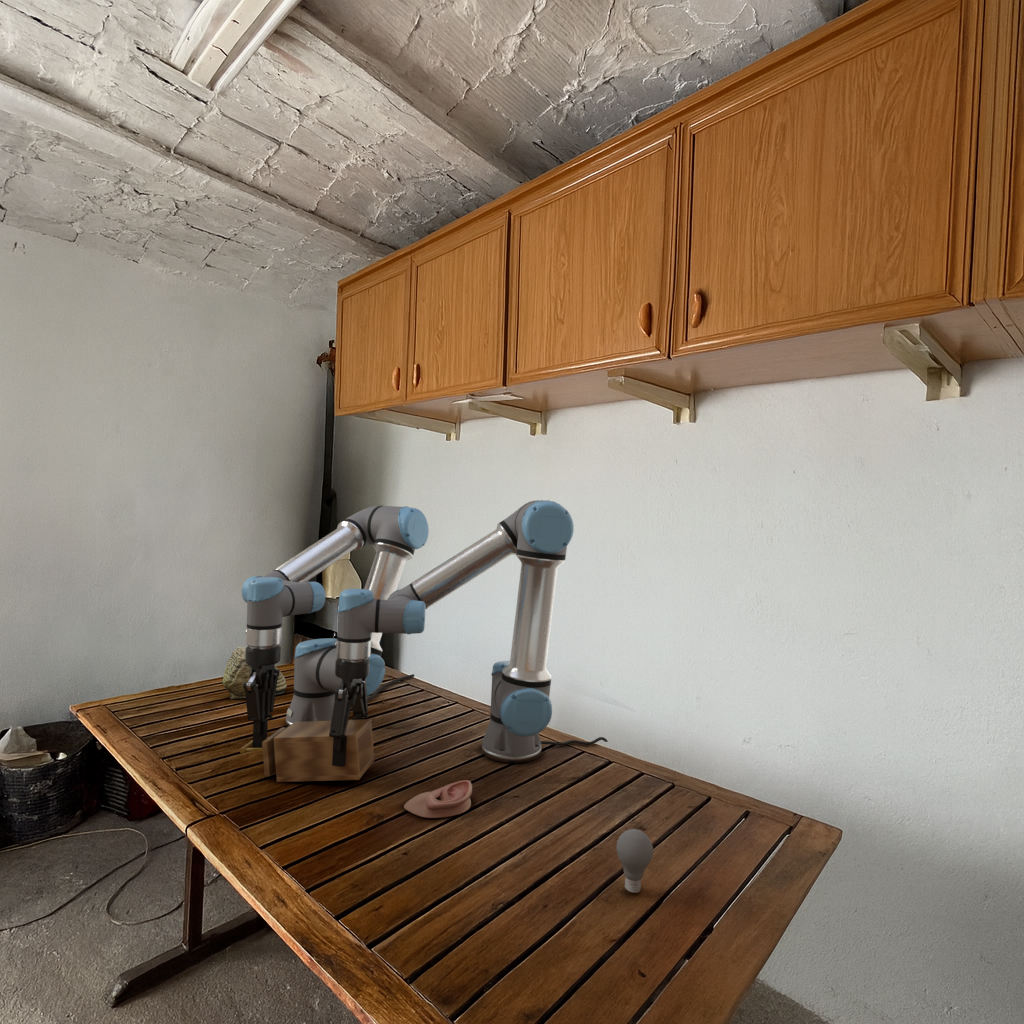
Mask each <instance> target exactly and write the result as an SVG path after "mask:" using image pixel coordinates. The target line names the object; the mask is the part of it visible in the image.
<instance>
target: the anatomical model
mask: <svg viewBox="0 0 1024 1024" xmlns="http://www.w3.org/2000/svg"><path fill="white" fill-rule="evenodd" d="M472 793H473V785H472V782H471V781H470V780H468V779H466V780H464V779H463V780H458V781H455V782H453V783H449V784H446V785H444V786H441V787H440V788H437V789H434V790H432V791H425V792H422V793H419V794H416V795H415V796H414V797H412V798H410V799H409V800H407V801H406V802H405V804H403V808H404V810H406V811H408V812H409V813H411V814H413V815H415V816H418V817H421V818H424V819H437V818H447V817H452V816H457V815H460V814H462V813H465V812H467V811H468V810H469V809H470V808H471V806H472V801H471V798H470V797H471V796H472Z"/></svg>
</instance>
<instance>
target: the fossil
mask: <svg viewBox="0 0 1024 1024" xmlns="http://www.w3.org/2000/svg"><path fill="white" fill-rule="evenodd" d="M246 648H247V646H246V647H245V646H238V647H237V648H236V649H235V650H233V651H232V653H231V656H230V657H229V659H228V660H227V663H226V666H225V668H224V671H223V675H222V676H223V677H222V685H223V687H224V688H225V690H226V691H228V693H229V698H230V699H246V695H245V690H244V688H243V684H244V682H248V681H249V680H250V671H251V666H250V665H249V664H247V663H246V662H245V653H246ZM275 669H279V668H278V667H277V665H276V664H275ZM287 687H288V686H287V680H286V678H285V676H284V674H283V673H282V672H281V671H280V673H279V677H278V680H277V688H276V695H281V694H284V693H285V691H286V689H287Z"/></svg>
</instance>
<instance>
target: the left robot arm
mask: <svg viewBox="0 0 1024 1024" xmlns="http://www.w3.org/2000/svg"><path fill="white" fill-rule="evenodd" d="M429 530H430V529H429V523H428V520H427V517H426V515H425V514H424V513H423V511H421V510H420V509H418V508H416V507H410V506H392V505H381V504H380V505H379V504H377V505H372V506H368V507H366V508H363V509H361V510H359V511H358V512H355V513H354V514H351V515H350V516H348V517H346V518H344V520H342V521H340V522H339V523H338V524H337V527H336V529H334V530H333V531H331V532H330V533H328V534H327V535H325V536H324V537H322V538H321V539H319V540H318V541H316V542H314V543H313V544H311V545H309V546H308V547H307V548H305V549H304V550H302V551H300V552H299V553H298V554H295V556H293V557H291V558H290V559H288V560H287V561H285V562H284V563H281V565H279V566H278V567H276V568H274V569H272V570H271V571H270V572H268V573H267V574H265V575H263V576H262V575H254V576H250V577H248V578H247V579H246V580H244V583H243V584H242V586H241V590H240V591H241V592H240V593H241V597H242V599H243V601H244V603H246V629H245V631H244V632H245V634H246V635H245V637H246V638H245V644H246V645H247V646H246V647H247V648H246V653H245V662H246V663H247V664H249V665H250V666H251V671H250V680H249V681H248V682H244V684H243V688H244V690H245V695H246V698H245V706H246V713H247V715H246V716H247V721H249V722H253V723H252V726H253V727H252V740H253V746H252V748H263V747H262V742H263V741H264V740H266V739H267V737H268V727H269V726H268V725H269V719H272V718H273V716H274V714H273V712H274V707H275V700H276V695H277V694H276V688H277V680H278V677H279V673H280V672H281V669H280V668H278V669H275V665H276V664H278V663H280V662H281V657H282V656H281V655H282V654H281V653H282V652H281V651H282V647H281V645H280V644H282V626H283V618H285V617H286V618H287V617H292V616H297V615H298V616H299V615H305V614H308V615H309V614H312V613H315V612H318V611H320V610H322V608H323V607H324V605H325V603H326V596H327V595H326V591H325V588H324V586H323V585H322V584H321V583H319V582H317V581H310V580H312V579H313V578H315V577H317V576H318V575H319V574H320V573H322V572H323V571H325V570H326V569H328V568H329V567H331V566H332V565H334V564H335V563H337V562H338V561H340V560H341V559H342V558H343V557H345V556H346V555H348V554H349V553H351V552H352V551H354V552H357V551H360V550H362V549H363V548H364V547H367V546H372V545H373V548H374V550H375V556H374V559H373V562H372V565H371V568H370V570H369V574H368V576H367V580H366V583H365V585H364V587H363V589H367V590H371V591H372V592H373V597H374V599H380V600H387V599H388V597H389V596H390V595H391V594H392V593H393V592H395V591H396V590H398V586H399V583H400V582H401V581H400V580H401V577H402V574H403V572H404V568H405V564H406V562H407V561H410V560H412V559H413V558H414V555H415V551H416V550H419V549H421V548H423V547H424V546H425V545H426V544H427V541H428V539H429V532H430V531H429ZM382 636H383V633H371V652H370V657H369V658H368V659H369V660H370V667H369V675H368V676H367V681H366V686H367V702H368V701H369V702H370V701H371V700H372V699H374V698H376V695H378V694H379V693H381V691H382V690H384V689H385V688H386V687H389V686H390V685H392V684H395V683H398V682H401V681H403V680H407V679H412V678H414V677H415V673H412V674H409V675H405V676H402V677H398V678H395V679H393V680H392V679H391V680H390V681H388V682H386V683H384V684H383V685H382V683H383V681H384V678H385V675H386V667H385V665H386V663H385V660H384V659H383V658H382V654H383V648H382V647H381V645H380V643H381V639H382ZM336 642H337V638H335V637H333V638H332V637H329V638H315V639H308V640H304V641H302V642H299V643H298V644H297V645H296V646H295V652H294V653H295V654H294V656H293V659H294V661H293V662H294V663H293V665H294V667H293V695H292V696H293V697H292V699H291V702H290V704H289V707H288V708H287V710H286V715H285V726H286V728H287V727H289V726H290V725H291V724H293V723H294V722H306V721H332V714H333V708H334V702H335V690H336V689H340V686H341V684H342V679H341V678H339V677H337V676H336V675H335V663H336V660H337V659H338V658H337V657H336V649H337V646H335V643H336ZM271 713H272V714H271Z"/></svg>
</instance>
